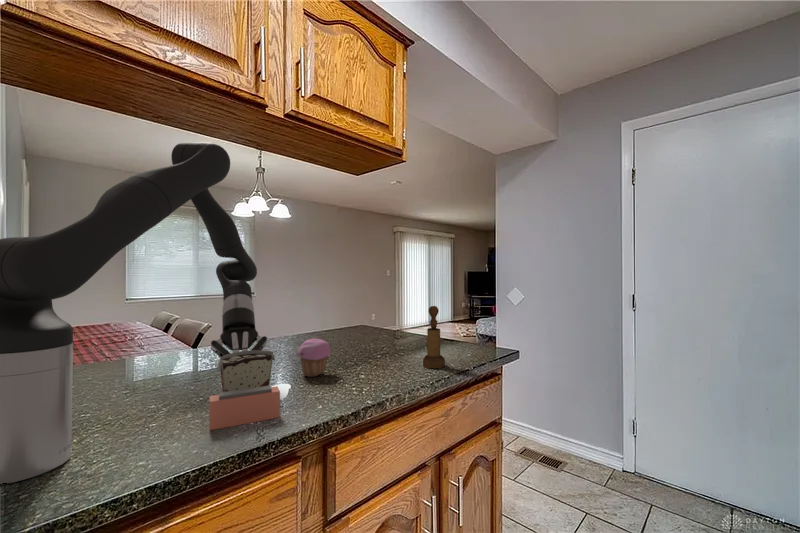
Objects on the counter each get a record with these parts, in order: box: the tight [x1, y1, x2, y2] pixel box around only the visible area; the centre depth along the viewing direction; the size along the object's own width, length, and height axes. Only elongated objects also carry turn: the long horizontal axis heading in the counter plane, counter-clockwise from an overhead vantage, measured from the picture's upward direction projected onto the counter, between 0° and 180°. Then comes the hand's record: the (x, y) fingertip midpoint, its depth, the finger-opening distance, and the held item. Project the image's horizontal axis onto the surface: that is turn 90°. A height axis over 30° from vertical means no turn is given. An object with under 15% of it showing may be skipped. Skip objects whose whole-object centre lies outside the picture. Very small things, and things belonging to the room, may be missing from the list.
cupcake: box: [297, 337, 332, 378], centre depth 96 cm, size 9×9×10 cm
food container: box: [216, 349, 276, 392], centre depth 78 cm, size 12×6×10 cm, turn 139°
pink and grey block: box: [208, 384, 281, 431], centre depth 66 cm, size 12×4×6 cm, turn 118°
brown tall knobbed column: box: [422, 305, 446, 369], centre depth 105 cm, size 7×6×18 cm
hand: (241, 375), depth 79 cm, fingers closed
